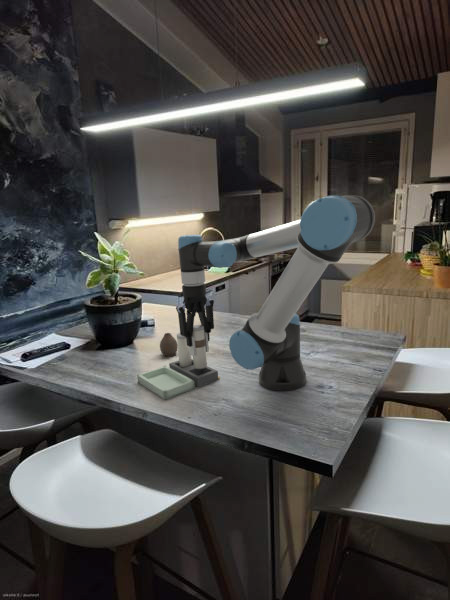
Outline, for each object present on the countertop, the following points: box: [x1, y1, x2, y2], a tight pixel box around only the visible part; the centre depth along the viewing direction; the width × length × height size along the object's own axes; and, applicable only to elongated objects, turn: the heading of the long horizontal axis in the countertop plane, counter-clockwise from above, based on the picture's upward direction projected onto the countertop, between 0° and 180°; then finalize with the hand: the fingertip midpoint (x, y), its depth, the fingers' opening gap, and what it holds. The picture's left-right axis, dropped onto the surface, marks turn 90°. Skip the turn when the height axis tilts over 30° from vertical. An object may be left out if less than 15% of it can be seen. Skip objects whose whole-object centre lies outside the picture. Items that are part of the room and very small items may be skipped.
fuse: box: [176, 332, 193, 368], centre depth 142 cm, size 4×4×14 cm
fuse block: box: [168, 358, 221, 387], centre depth 140 cm, size 18×9×3 cm, turn 38°
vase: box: [159, 332, 178, 357], centre depth 161 cm, size 7×7×9 cm
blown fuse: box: [192, 324, 208, 369], centre depth 134 cm, size 4×4×14 cm
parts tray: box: [137, 365, 196, 400], centre depth 134 cm, size 18×11×3 cm, turn 38°
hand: (199, 352), depth 135 cm, fingers closed on blown fuse, 4 cm apart
